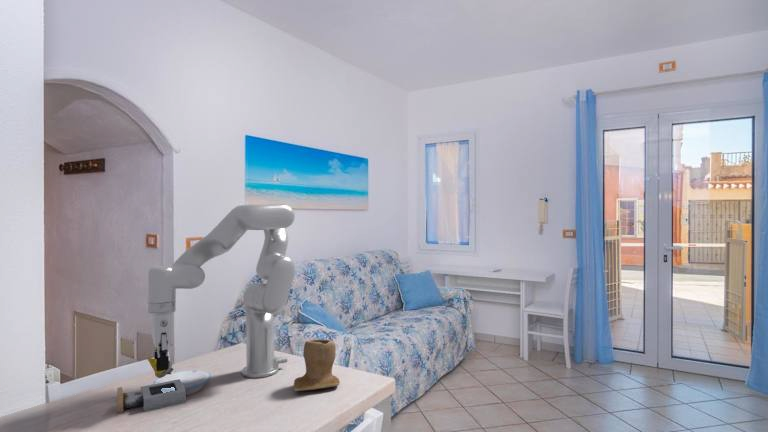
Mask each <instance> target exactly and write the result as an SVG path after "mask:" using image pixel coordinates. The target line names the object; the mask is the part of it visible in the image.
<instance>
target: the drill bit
mask: <svg viewBox="0 0 768 432" xmlns="http://www.w3.org/2000/svg"><path fill="white" fill-rule="evenodd" d="M146 360H147V361H148V362H149V364H150V366H151V367H152V369H153V371H154V375H155V377H157V378H158V379H162V378H165V376H167V375H172V372H173V371H174V368H173V362H172V361H171V360H169V369H167V370H162V371H157V370H156V359H154V358H153V357H146Z"/></svg>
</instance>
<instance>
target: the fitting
mask: <svg viewBox="0 0 768 432" xmlns="http://www.w3.org/2000/svg"><path fill="white" fill-rule="evenodd" d="M171 387H174V388H175V391H170V392H166V393H163V392H162V391H161V389H162V388H171ZM123 390H124V389H123V386H121V387H117V389H116V391H117V392H116V394H117V397H116V399H117V414H121V413H122V414H123V413H124V410H125V409H129V408H134V407H139V406H142V410H143V412H144V413H145V412H149V411H154V410H158V409H163V408H167V407H171V406H175V405H181V404H185V403H186V401H187V400H186V399H187V398H186V397H187V396H186V395H187V394H186V392H187V391H186V389H185V387H184V385H183V383H182V381H181V379H179V378H178V379H174V380H169V381H163V382H159V383H154V384H148V385H144V386H140V389H137V390H132V391H131V390H130V391H126V392H123Z"/></svg>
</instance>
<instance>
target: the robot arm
mask: <svg viewBox="0 0 768 432" xmlns="http://www.w3.org/2000/svg"><path fill="white" fill-rule="evenodd" d="M295 217H296V216H295V212H294V209H292V207H291V206H289V205H287V204H242V205H237V206H235V207H234V208H232V209H231V210H230V212H228V213H227V214H226V216H225V217H223V219H221V220H220V221H219V223H218V224H217V225H215V227H214V228H213V229H212V230H211V231H210V232H209V233H208V234H207V235H205V236H204V237H203V238H201V239H199V240H197V242H195V243H194V244H192V245H191V246H190V247H189V248H187V249H186V250H185V251H184V252H183V253H182V254H181V255H180V256H179V257H178V258H177V259H176V261H174V262H173V263H172V265H156V266H152V267H150V268H149V269H148V272H147V276H148V277H147V314H148V315H152V316H151V331H152V332H151V335H152V336H151V337H152V342H153V345H154V353H153V355H154V358H153V359H156V370H157V371H162V370H167V369H169V361H170V360H169V359H170V358H169V357H170V356H169V346H171V347H172V346H174V344H175V343H174V321H173V320H174V318H173V313H175V312H176V311H177V309H176V305H177V304H176V301H177V299H176V295H177V292H176V291H177V290H179V289H182V290H185V289H186V290H188V289H189V290H192V289H195V288H199V287H200V286H201V285H203V283H204V281H205V279H206V274H205V271H204V269H203V268H202V266H203V265H204V264H205V263H207V262H208V261H210V260H212V259H214V258H216V257H218V256H222V255H224V254H226V253H228V252H229V251H230V250H231V249H232V248H233V247H234V246H235V244H236V243H237V242H238V241H239V240H240V239H241V238H242V237H243V236H244V235H245V234H246V232H247V231H263V233H264V241H263V245H262V248H261V251H260V255H259V258H258V261H257V263H256V268H255V269H256V270H255V272H256V275H257V277H259V278H260V279H263V280H266V283H265V282H255V283H251V284H250V285H249V286H248V287H247V288H246V289H245V291H244V292H243V298H242V299H243V306H244V307H243V308H244V311H245V313H244V314H245V323H246V324H245V327H246V328H245V329H246V330H245V334H246V335H245V337H246V339H245V340H246V341H245V342H246V343H245V345H246V346H245V347H246V350H245V351H246V353H245V354H246V357H245V358H246V362H245V363H246V366H244V367H243V368H242V369H241V374H242V376H244V377H247V378H251V379H253V378H256V379H257V378H265V377H270V376H273V375H274V374H277V372H278V371H279V368H280V367H279V365H280V364H286V363H288V357H287V356H283V357H282V356H278V357H276V356H275V320H274V319H275V318H274V314H278V313H279V312H281V311H283V309H284V308H285V306H286V304H287V302H288V299H289V295H290V292H291V289H292V285H293V282H294V278H295V274H296V266H295V263H294V261H293V260H292V258H291V257H289V256H287V255H286V254H287V253H286V252H287V249H288V245H289V235H288V232H287V229H288V228H290V227H291V225H292V224H293V223H294V221H295Z"/></svg>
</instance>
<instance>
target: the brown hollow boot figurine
mask: <svg viewBox="0 0 768 432" xmlns="http://www.w3.org/2000/svg"><path fill="white" fill-rule="evenodd" d="M303 358H304V363H305V373H304V375H302V376H299V377H296V378H295V379H294V380H293V391H294V392H301V391H302V392H303V391H305V392H306V391H313V390H320V389H327V388H328V389H329V388H333V387H338V386H339V385H340V384H341V383H340V382H341V381H340V379H339V378H338V377H337V376H335V375H333V366H334V363H335V358H336V343H335V342H334V340H331V339H320V338H319V339H318V338H317V339H308V340H306V341H305V343H304V346H303Z"/></svg>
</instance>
